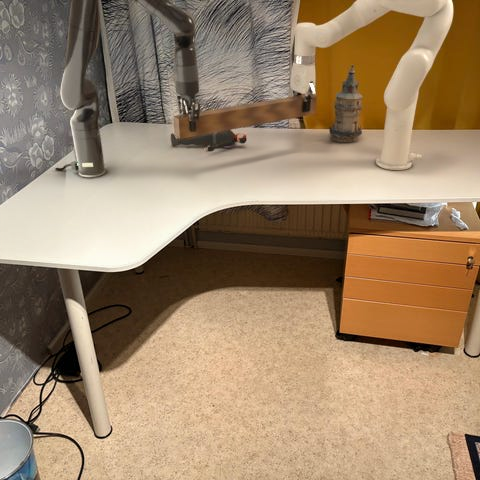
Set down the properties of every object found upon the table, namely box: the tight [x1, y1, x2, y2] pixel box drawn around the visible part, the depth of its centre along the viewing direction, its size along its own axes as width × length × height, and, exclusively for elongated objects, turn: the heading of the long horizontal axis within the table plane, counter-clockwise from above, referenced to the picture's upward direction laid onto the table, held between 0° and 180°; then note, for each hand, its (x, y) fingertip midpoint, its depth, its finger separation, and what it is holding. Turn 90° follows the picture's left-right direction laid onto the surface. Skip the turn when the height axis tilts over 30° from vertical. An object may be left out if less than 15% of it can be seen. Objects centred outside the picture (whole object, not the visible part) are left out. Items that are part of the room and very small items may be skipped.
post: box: [172, 94, 318, 139], centre depth 191 cm, size 56×5×7 cm, turn 119°
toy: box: [170, 130, 248, 153], centre depth 215 cm, size 26×6×30 cm
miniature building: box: [328, 63, 363, 143], centre depth 214 cm, size 13×14×30 cm
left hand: (189, 129), depth 182 cm, fingers closed on post, 4 cm apart
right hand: (302, 109), depth 202 cm, fingers closed on post, 4 cm apart
